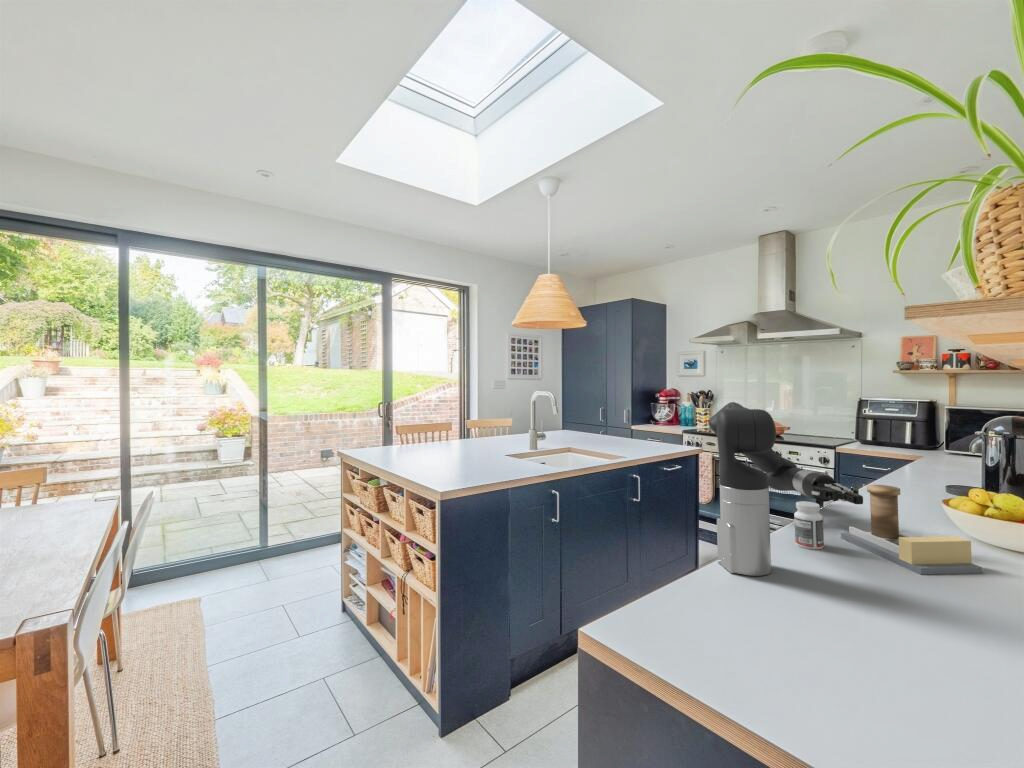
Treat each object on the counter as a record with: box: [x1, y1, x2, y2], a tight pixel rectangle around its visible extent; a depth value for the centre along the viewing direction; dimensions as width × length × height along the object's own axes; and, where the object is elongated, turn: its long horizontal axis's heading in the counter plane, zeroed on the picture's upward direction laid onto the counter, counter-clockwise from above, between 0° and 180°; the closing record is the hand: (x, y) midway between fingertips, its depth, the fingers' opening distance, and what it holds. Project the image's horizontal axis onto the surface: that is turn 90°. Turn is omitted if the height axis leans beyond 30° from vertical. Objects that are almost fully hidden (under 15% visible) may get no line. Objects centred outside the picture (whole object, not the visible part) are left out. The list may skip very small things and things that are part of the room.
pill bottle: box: [793, 500, 825, 550], centre depth 106 cm, size 6×6×10 cm
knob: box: [866, 484, 901, 544], centre depth 105 cm, size 6×6×12 cm
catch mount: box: [840, 526, 983, 575], centre depth 100 cm, size 12×22×6 cm, turn 179°
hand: (860, 500), depth 113 cm, fingers closed
